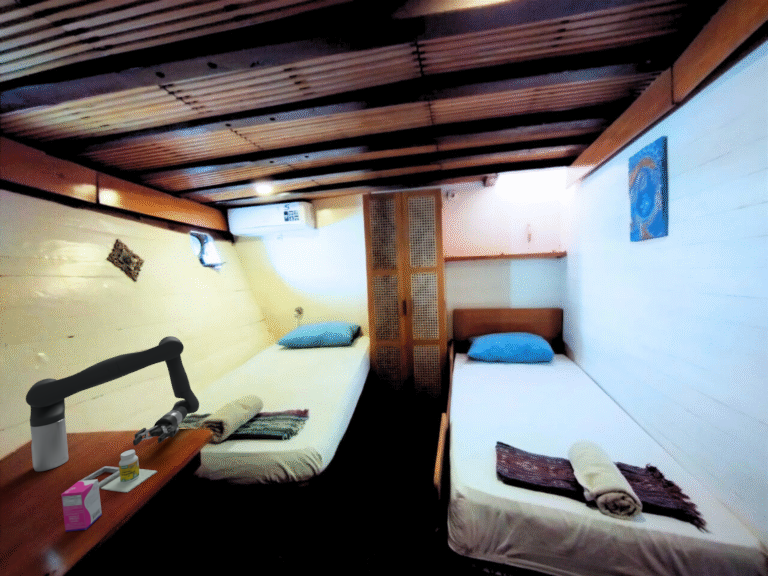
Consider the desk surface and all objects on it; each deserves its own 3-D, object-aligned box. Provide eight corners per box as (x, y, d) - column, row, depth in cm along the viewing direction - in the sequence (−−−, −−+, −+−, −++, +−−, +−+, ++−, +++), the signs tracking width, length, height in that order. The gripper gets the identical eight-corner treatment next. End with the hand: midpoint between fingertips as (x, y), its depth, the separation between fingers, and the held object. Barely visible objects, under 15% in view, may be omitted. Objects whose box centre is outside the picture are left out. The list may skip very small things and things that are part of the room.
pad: (101, 489, 107) (101, 487, 107) (132, 469, 118) (132, 468, 118) (127, 492, 105) (127, 491, 105) (157, 471, 116) (157, 470, 116)
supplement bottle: (140, 472, 115) (138, 446, 115) (138, 479, 111) (136, 453, 110) (121, 477, 112) (119, 451, 112) (119, 486, 108) (116, 459, 107)
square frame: (78, 485, 109) (77, 481, 109) (105, 469, 118) (105, 465, 118) (98, 488, 107) (98, 484, 107) (125, 472, 116) (124, 468, 116)
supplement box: (81, 516, 95) (78, 480, 94) (102, 514, 95) (99, 478, 95) (63, 532, 89) (60, 493, 89) (86, 530, 90) (83, 491, 89)
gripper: (150, 415, 137) (125, 434, 121) (185, 412, 139) (166, 430, 123) (151, 432, 137) (127, 453, 121) (186, 429, 139) (167, 449, 123)
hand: (146, 442), depth 122 cm, fingers open, 8 cm apart
